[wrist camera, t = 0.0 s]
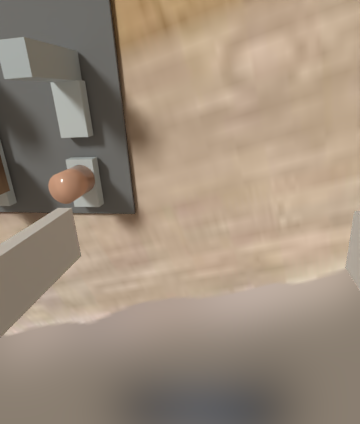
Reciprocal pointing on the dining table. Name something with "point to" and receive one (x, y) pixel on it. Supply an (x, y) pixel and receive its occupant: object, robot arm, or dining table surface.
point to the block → (3, 179)
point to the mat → (46, 113)
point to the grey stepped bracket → (9, 196)
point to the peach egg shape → (71, 184)
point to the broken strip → (56, 94)
